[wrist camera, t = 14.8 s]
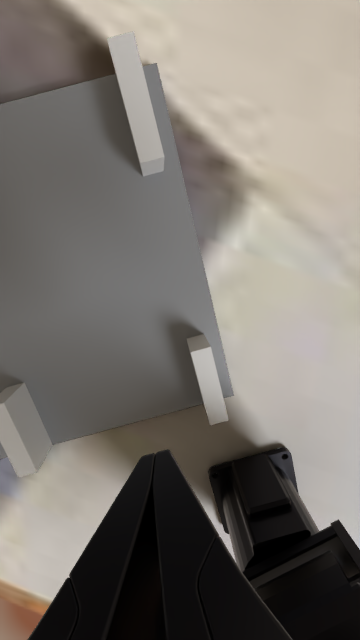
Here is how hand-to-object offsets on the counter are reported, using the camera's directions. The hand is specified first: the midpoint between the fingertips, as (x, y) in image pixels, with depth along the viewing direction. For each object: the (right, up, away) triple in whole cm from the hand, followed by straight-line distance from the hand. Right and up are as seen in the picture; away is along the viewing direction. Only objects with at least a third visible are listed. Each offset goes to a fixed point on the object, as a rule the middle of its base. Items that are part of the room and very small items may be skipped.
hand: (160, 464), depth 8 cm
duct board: (-11, +5, +9) cm, 15 cm away
